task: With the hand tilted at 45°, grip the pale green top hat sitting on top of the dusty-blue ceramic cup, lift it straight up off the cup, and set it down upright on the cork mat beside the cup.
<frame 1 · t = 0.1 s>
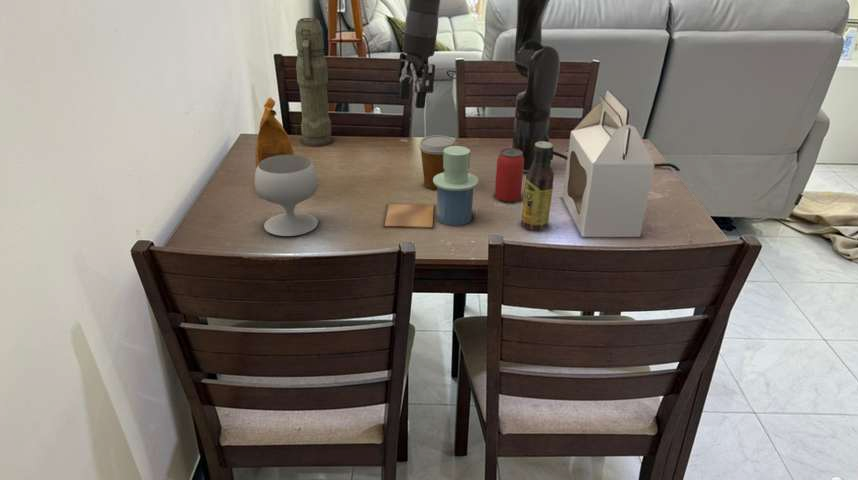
hand: (411, 103, 162), 22 cm above the table, tool pointing down, fingers open, 8 cm apart
blue cup: (454, 217, 159), on the table
stone tiki statue: (317, 141, 205), on the table
cork mat: (409, 216, 159), on the table
chalice: (291, 226, 155), on the table
beer can: (507, 198, 169), on the table
sauce bottle: (534, 226, 156), on the table
gable box: (598, 217, 160), on the table
disposable coffee cup: (436, 185, 176), on the table
pale green top hat: (455, 190, 155), point 7 cm above the table, touching blue cup
coffee package: (277, 188, 174), on the table
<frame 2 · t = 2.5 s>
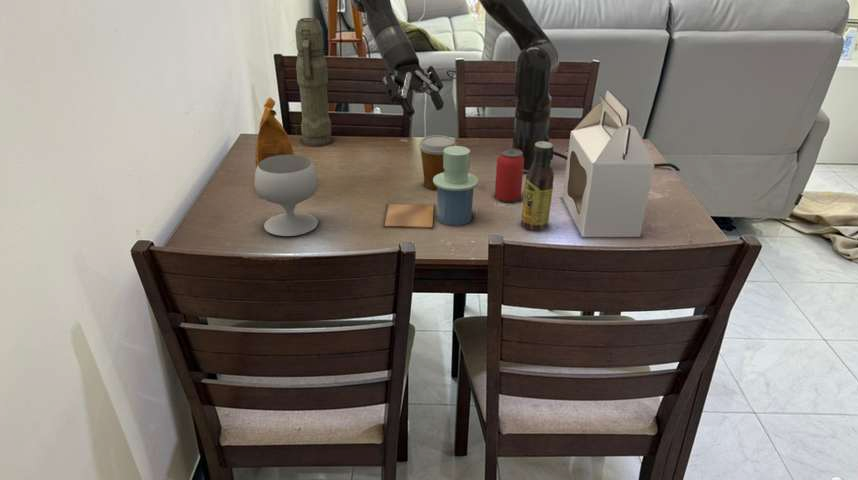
hand: (426, 111, 155), 23 cm above the table, tool tilted 45°, fingers open, 8 cm apart
nothing on the table moved.
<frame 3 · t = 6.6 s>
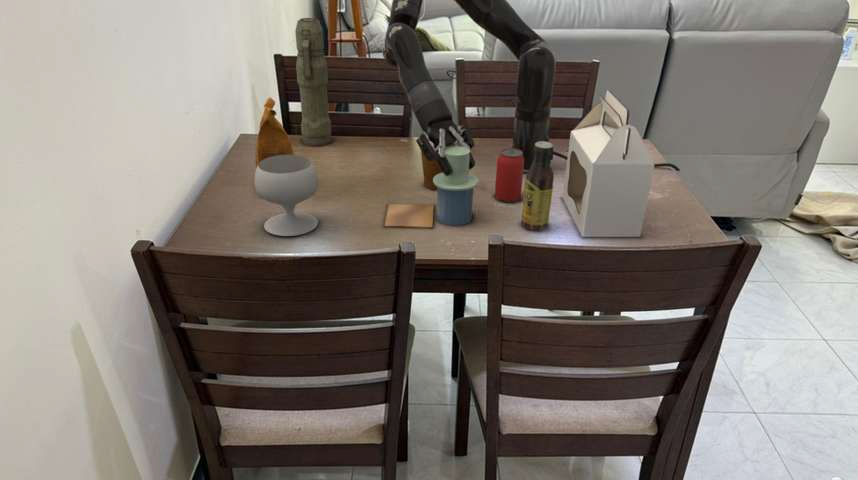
hand: (460, 170, 152), 12 cm above the table, tool tilted 45°, fingers closed on pale green top hat, 6 cm apart
pale green top hat: (455, 190, 155), point 7 cm above the table, touching blue cup, gripper
everything else where it was.
when the fingers open (6 cm above the table, at t = 15.4 s): pale green top hat stays where it is, resting on cork mat.
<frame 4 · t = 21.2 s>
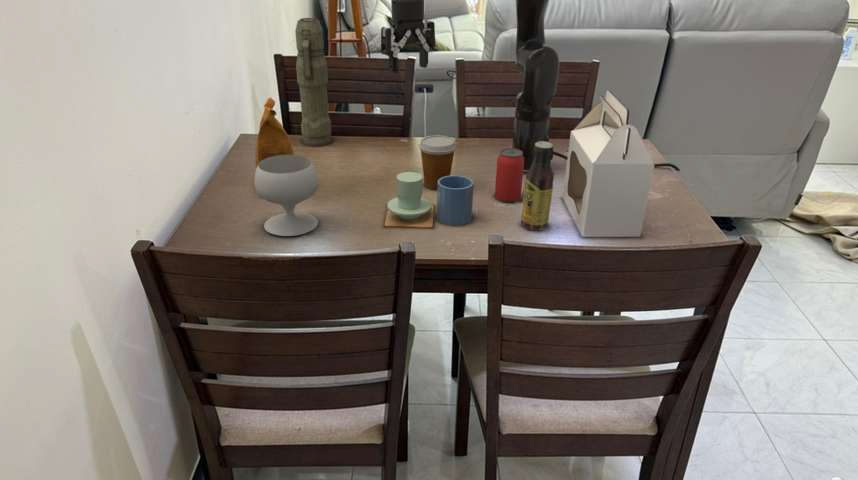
hand: (409, 69, 161), 29 cm above the table, tool pointing down, fingers open, 8 cm apart
pale green top hat: (409, 214, 159), resting on cork mat
everything else where it was.
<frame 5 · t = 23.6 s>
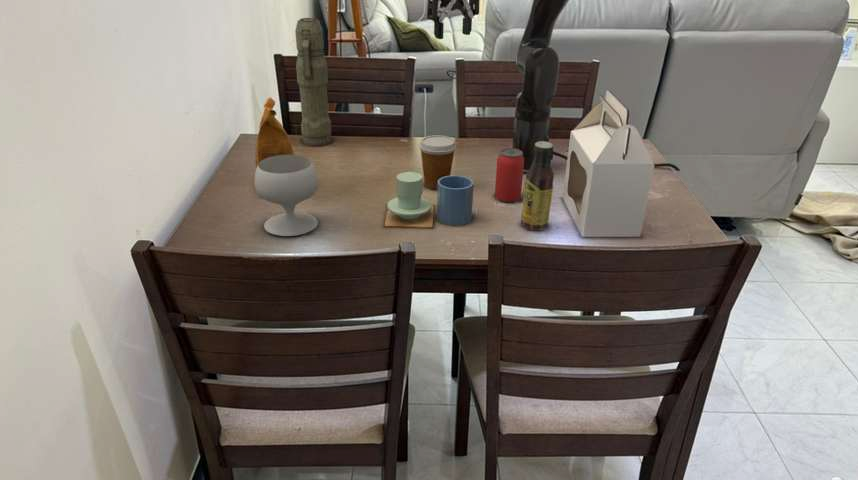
hand: (452, 36, 162), 36 cm above the table, tool pointing down, fingers open, 8 cm apart
nothing on the table moved.
at the end: pale green top hat inside the target area on the cork mat (0.1 cm from its centre), point 0.4 cm above the cork mat's base; pale green top hat tilted 0°; the gripper is holding nothing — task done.
